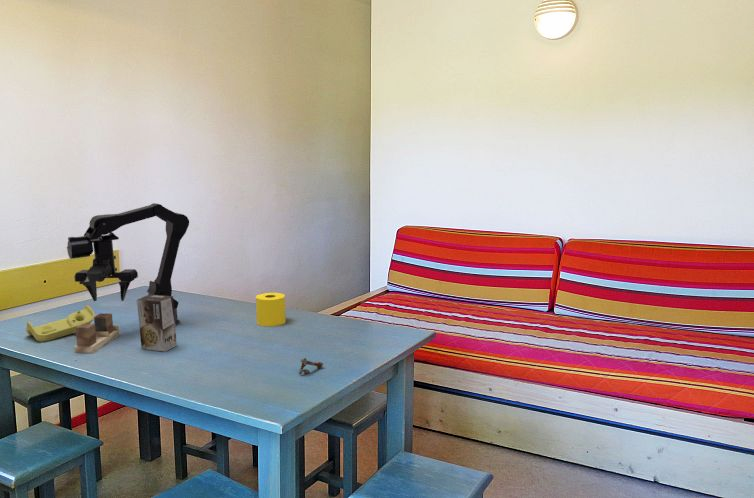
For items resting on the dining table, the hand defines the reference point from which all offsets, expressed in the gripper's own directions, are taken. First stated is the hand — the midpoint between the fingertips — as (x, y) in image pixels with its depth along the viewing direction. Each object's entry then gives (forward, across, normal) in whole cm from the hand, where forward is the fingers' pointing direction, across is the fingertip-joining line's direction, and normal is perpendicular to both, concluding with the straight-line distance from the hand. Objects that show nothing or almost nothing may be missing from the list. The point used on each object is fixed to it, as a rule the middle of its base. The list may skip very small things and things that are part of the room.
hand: (109, 300), depth 207 cm
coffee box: (+12, +20, -12) cm, 27 cm away
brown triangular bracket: (+13, +71, -31) cm, 79 cm away
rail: (+12, -1, -9) cm, 15 cm away
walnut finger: (+10, 0, -4) cm, 11 cm away
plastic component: (+12, -18, +1) cm, 21 cm away
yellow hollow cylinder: (+13, +50, +15) cm, 54 cm away
